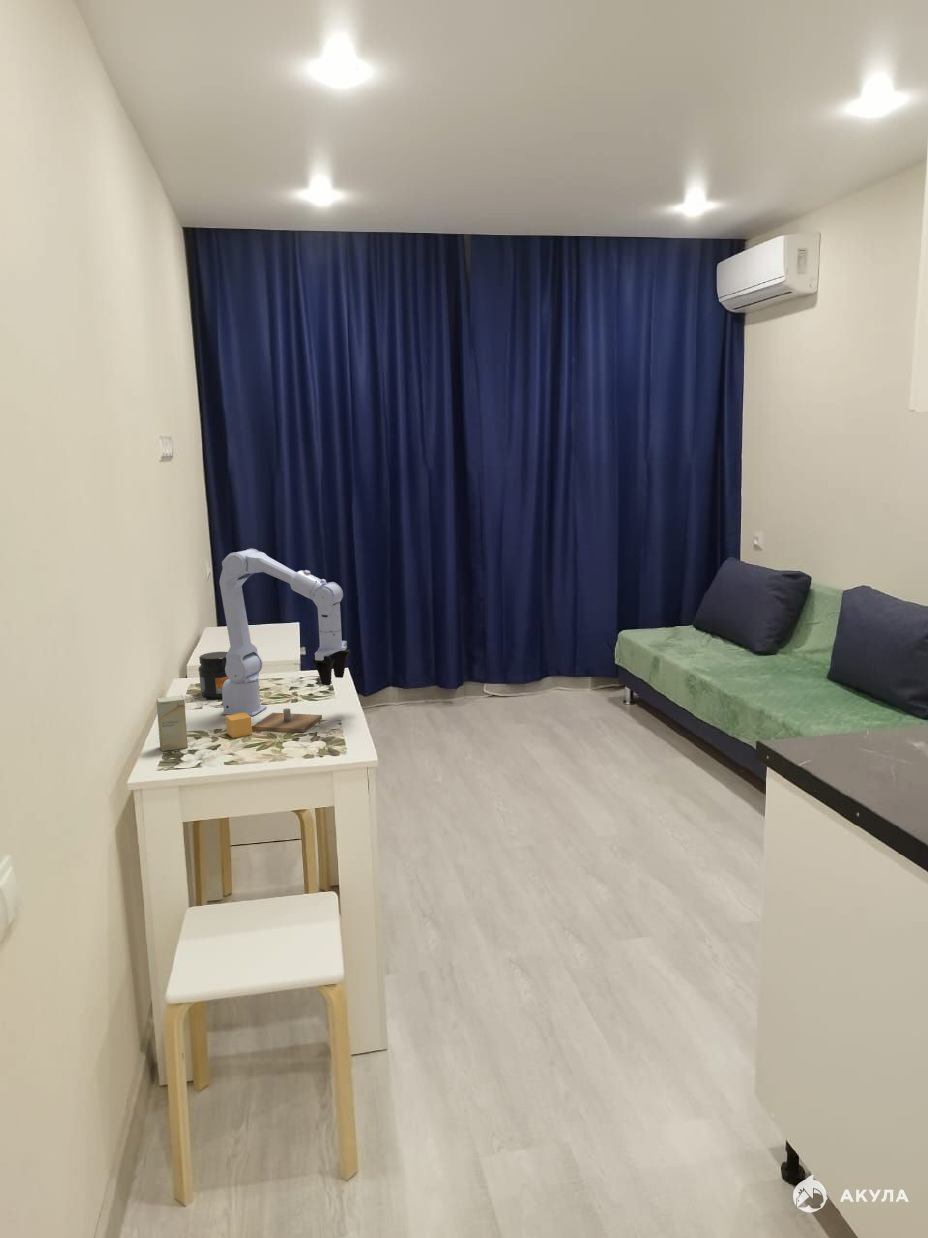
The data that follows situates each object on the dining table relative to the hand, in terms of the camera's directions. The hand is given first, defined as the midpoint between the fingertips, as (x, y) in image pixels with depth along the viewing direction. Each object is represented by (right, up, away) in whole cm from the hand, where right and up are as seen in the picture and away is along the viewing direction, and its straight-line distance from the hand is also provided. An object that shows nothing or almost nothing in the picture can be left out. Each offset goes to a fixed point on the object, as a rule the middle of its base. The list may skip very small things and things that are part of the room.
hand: (332, 681), depth 234 cm
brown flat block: (-11, -11, -3) cm, 16 cm away
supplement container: (-37, -6, +27) cm, 46 cm away
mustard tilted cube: (-22, -13, -9) cm, 27 cm away
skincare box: (-36, -15, -18) cm, 43 cm away
